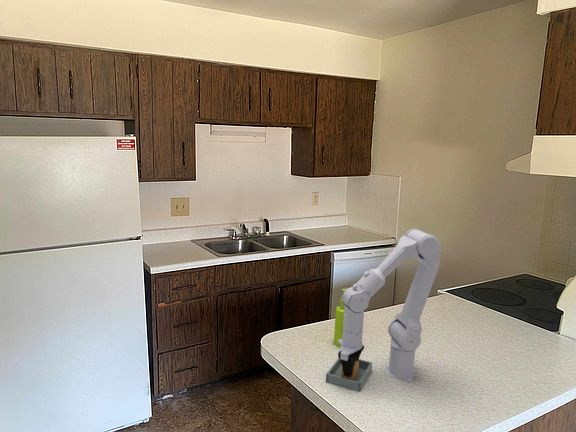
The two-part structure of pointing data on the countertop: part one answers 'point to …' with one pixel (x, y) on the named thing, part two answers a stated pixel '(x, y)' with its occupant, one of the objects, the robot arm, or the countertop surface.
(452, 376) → the countertop surface
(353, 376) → the letter cube
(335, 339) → the soap dispenser
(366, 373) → the bin
